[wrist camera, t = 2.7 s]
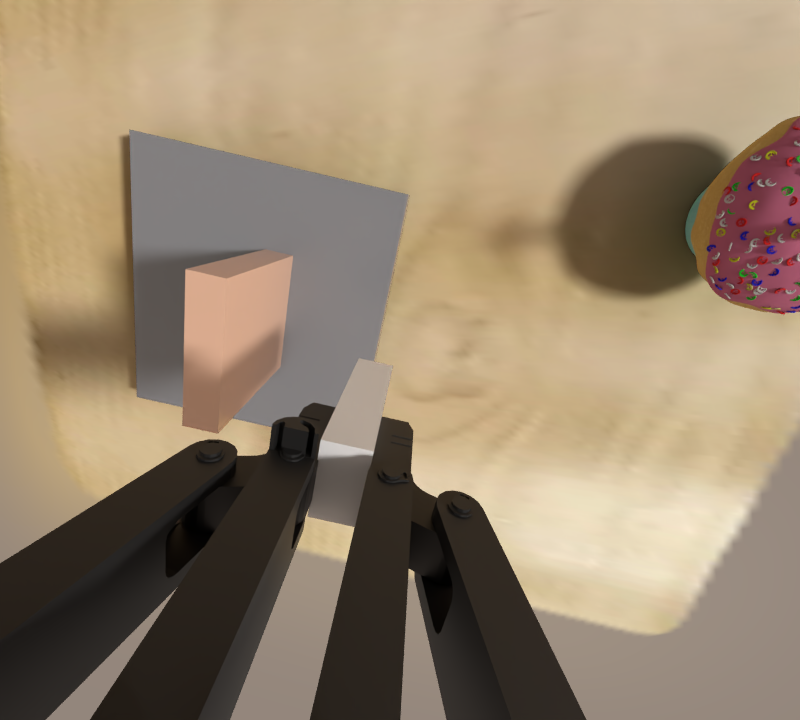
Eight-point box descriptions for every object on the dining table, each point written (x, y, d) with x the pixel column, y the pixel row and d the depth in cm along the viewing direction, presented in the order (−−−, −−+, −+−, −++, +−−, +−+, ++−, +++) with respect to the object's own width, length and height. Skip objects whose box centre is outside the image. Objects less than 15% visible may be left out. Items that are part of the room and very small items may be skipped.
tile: (262, 248, 23) (181, 268, 15) (293, 255, 23) (226, 278, 15) (253, 360, 25) (179, 424, 18) (280, 366, 25) (217, 433, 18)
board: (148, 134, 22) (129, 129, 21) (409, 195, 23) (408, 194, 21) (151, 387, 28) (137, 396, 27) (359, 434, 28) (356, 445, 27)
